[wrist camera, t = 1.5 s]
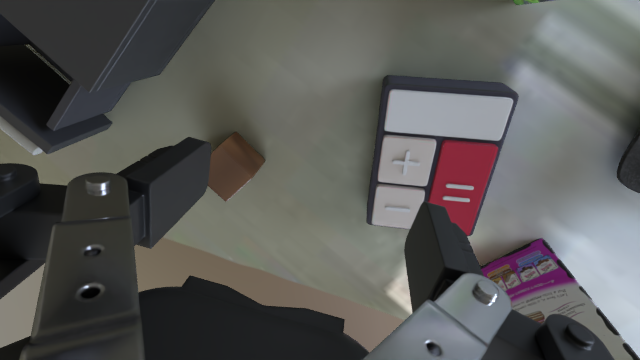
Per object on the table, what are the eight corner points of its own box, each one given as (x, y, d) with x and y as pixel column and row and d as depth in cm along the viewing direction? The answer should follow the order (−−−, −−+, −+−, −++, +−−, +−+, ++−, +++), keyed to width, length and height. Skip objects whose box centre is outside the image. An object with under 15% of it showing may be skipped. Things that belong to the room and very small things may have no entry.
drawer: (91, 152, 39) (30, 181, 32) (3, 78, 36) (-84, 93, 29) (172, 40, 32) (116, 46, 25) (71, -62, 29) (-24, -87, 22)
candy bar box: (473, 304, 42) (528, 458, 27) (451, 279, 40) (496, 426, 26) (564, 264, 37) (688, 422, 23) (543, 235, 36) (658, 382, 22)
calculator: (365, 229, 35) (384, 85, 27) (366, 206, 38) (383, 74, 31) (474, 242, 34) (524, 95, 26) (464, 217, 37) (506, 82, 30)
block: (211, 156, 38) (192, 172, 34) (236, 131, 36) (219, 145, 32) (241, 183, 39) (225, 202, 35) (265, 160, 37) (252, 177, 33)
